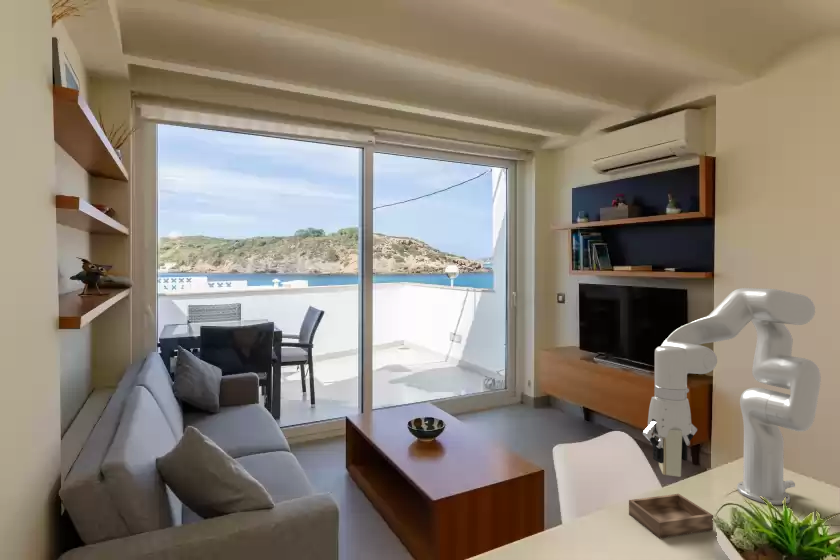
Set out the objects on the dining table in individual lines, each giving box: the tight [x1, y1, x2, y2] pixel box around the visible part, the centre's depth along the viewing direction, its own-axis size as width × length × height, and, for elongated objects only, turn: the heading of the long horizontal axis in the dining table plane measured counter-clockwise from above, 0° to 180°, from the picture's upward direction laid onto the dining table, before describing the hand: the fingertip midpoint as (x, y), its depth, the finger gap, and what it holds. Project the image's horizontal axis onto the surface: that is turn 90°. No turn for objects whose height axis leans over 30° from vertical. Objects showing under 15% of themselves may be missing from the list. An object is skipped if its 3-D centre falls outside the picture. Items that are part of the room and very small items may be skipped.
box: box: [628, 493, 714, 539], centre depth 121 cm, size 16×12×4 cm
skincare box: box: [658, 429, 682, 477], centre depth 121 cm, size 6×4×12 cm
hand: (670, 459), depth 121 cm, fingers closed on skincare box, 6 cm apart
